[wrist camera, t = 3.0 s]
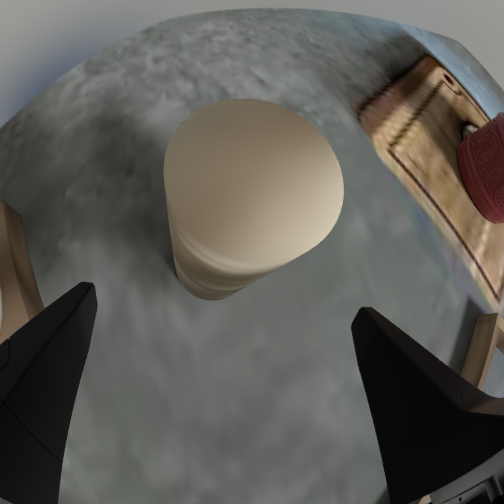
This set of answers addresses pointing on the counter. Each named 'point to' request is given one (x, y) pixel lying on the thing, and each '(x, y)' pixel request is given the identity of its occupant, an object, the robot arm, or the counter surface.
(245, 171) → the birch pillar
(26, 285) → the walnut plinth
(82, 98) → the counter surface
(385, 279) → the counter surface
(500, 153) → the canister
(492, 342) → the oak tray rim
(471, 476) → the robot arm
